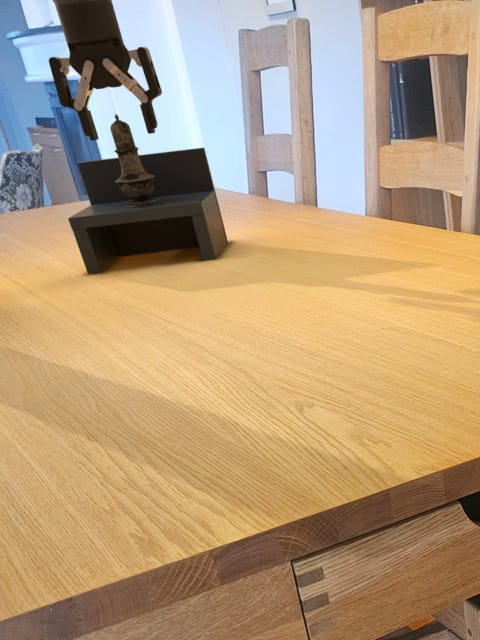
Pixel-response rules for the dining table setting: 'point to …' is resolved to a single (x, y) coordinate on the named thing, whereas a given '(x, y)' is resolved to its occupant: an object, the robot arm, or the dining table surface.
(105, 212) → the bench
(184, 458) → the dining table surface
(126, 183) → the salt shaker
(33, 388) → the dining table surface
